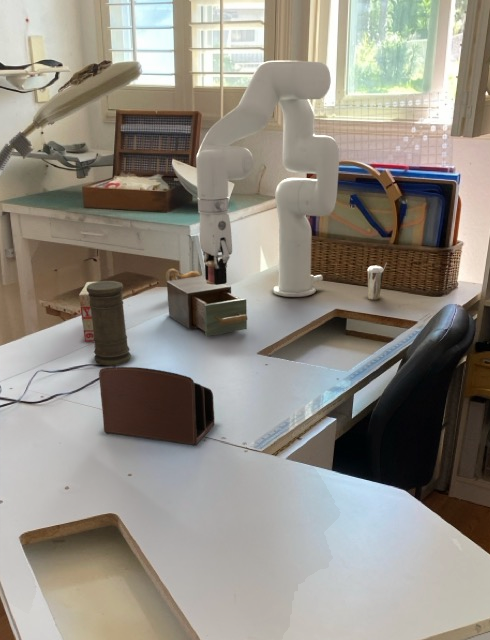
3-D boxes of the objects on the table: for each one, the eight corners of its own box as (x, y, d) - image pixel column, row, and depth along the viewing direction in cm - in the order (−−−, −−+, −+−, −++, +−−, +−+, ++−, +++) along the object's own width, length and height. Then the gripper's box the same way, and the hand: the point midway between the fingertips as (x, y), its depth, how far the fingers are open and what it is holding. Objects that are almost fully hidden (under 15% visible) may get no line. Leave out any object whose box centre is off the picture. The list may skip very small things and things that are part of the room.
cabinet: (232, 322, 221) (231, 286, 216) (189, 329, 217) (187, 293, 212) (209, 309, 232) (208, 275, 227) (169, 316, 228) (166, 281, 223)
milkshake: (385, 300, 234) (388, 264, 229) (367, 300, 235) (369, 265, 229) (383, 295, 238) (385, 260, 233) (364, 296, 238) (366, 261, 233)
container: (115, 368, 193) (107, 291, 183) (86, 362, 197) (77, 287, 187) (138, 357, 199) (132, 282, 190) (110, 351, 203) (102, 278, 194)
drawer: (255, 334, 209) (255, 303, 205) (215, 341, 205) (213, 310, 201) (224, 316, 223) (223, 287, 219) (186, 322, 219) (184, 293, 215)
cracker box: (97, 317, 229) (92, 273, 222) (119, 317, 229) (114, 272, 222) (84, 342, 211) (78, 294, 204) (108, 341, 210) (103, 293, 204)
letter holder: (196, 446, 154) (192, 375, 147) (103, 433, 161) (95, 364, 153) (215, 425, 162) (212, 357, 155) (126, 414, 168) (119, 348, 161)
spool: (220, 279, 211) (219, 259, 209) (228, 283, 208) (227, 262, 205) (203, 281, 210) (202, 261, 207) (211, 285, 206) (210, 265, 203)
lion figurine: (175, 302, 239) (173, 271, 235) (162, 299, 243) (160, 268, 238) (210, 291, 248) (209, 261, 244) (198, 289, 252) (196, 259, 247)
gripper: (242, 209, 194) (243, 286, 203) (212, 199, 207) (215, 273, 216) (214, 212, 191) (216, 290, 201) (185, 202, 204) (189, 276, 214)
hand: (215, 280), depth 208 cm, fingers closed on spool, 4 cm apart
